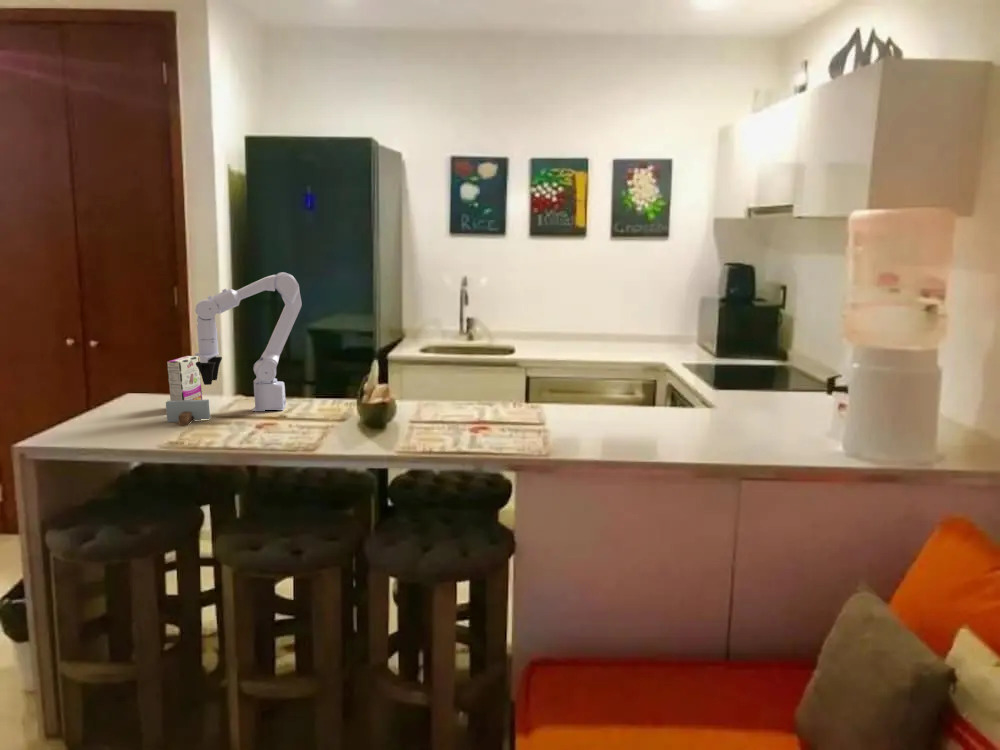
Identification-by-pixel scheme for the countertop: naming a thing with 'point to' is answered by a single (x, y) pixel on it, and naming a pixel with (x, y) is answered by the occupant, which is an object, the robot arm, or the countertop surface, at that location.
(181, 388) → the candy bar box
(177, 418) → the tapered grey panel
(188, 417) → the walnut slat
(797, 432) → the countertop surface
